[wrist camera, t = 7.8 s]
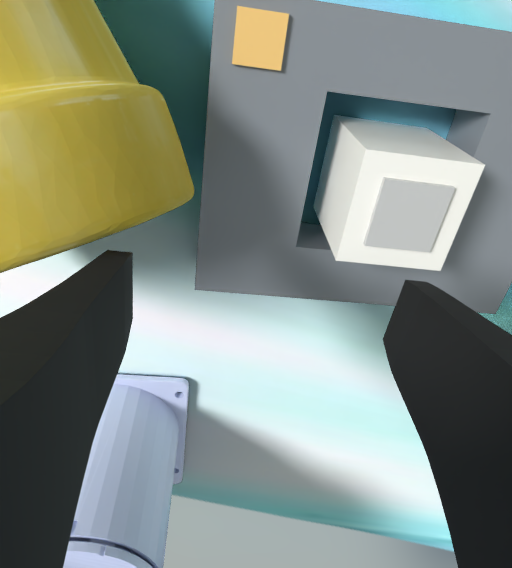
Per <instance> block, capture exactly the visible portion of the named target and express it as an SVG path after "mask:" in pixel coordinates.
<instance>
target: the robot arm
mask: <svg viewBox="0 0 512 568" xmlns="http://www.w3.org/2000/svg"><path fill="white" fill-rule="evenodd" d="M132 319H133V286H132V253H131V252H121V251H110V250H107V251H105V252H104V253H102V254H101V255H100V256H98V257H97V258H96V259H94V260H93V261H91V262H90V263H89V264H87V265H86V266H85V267H83V268H82V269H81V270H79V271H78V272H76V273H75V274H73V275H72V276H70V277H69V278H68V279H66V280H65V281H63V282H62V283H60V284H59V285H57V286H56V287H54V288H52V289H51V290H49V291H48V292H46V293H44V294H43V295H41V296H39V297H38V298H36V299H35V300H33V301H31V302H30V303H28V304H26V305H24V306H23V307H21V308H19V309H17V310H15V311H13V312H11V313H9V314H7V315H5V316H3V317H1V318H0V568H163V565H164V556H165V546H166V538H167V530H168V521H169V512H170V504H171V495H172V487H173V484H178V483H180V482H181V481H182V478H183V464H184V450H185V436H186V422H187V408H188V394H189V382H188V381H187V380H186V379H184V378H174V377H157V376H139V375H122V374H117V373H118V370H119V368H120V365H121V362H122V359H123V357H124V354H125V351H126V346H127V342H128V338H129V333H130V328H131V324H132ZM383 341H384V345H385V350H386V354H387V358H388V361H389V365H390V368H391V371H392V374H393V376H394V379H395V381H396V383H397V386H398V388H399V391H400V393H401V395H402V397H403V400H404V402H405V404H406V407H407V409H408V411H409V413H410V416H411V418H412V420H413V423H414V425H415V427H416V429H417V432H418V434H419V436H420V439H421V441H422V443H423V446H424V449H425V451H426V454H427V456H428V459H429V463H430V466H431V469H432V472H433V475H434V479H435V482H436V485H437V488H438V491H439V495H440V499H441V502H442V506H443V509H444V513H445V517H446V520H447V524H448V527H449V531H450V535H451V539H452V543H453V548H454V552H455V555H456V560H457V564H458V568H512V335H511V334H509V333H508V332H506V331H505V330H503V329H501V328H500V327H498V326H497V325H495V324H494V323H492V322H490V321H489V320H487V319H486V318H484V317H483V316H481V315H480V314H478V313H477V312H475V311H474V310H472V309H471V308H469V307H468V306H466V305H465V304H463V303H462V302H460V301H459V300H457V299H456V298H454V297H452V296H451V295H449V294H448V293H446V292H445V291H443V290H441V289H440V288H438V287H436V286H434V285H432V284H430V283H428V282H424V281H414V280H405V282H404V285H403V287H402V290H401V293H400V295H399V298H398V300H397V303H396V306H395V308H394V311H393V314H392V316H391V319H390V322H389V324H388V327H387V329H386V332H385V335H384V337H383ZM177 392H182V393H177Z"/></svg>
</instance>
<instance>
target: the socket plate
mask: <svg viewBox="0 0 512 568" xmlns="http://www.w3.org/2000/svg"><path fill="white" fill-rule="evenodd" d="M327 91H328V92H336V93H343V94H350V95H358V96H365V97H372V98H380V99H387V100H394V101H402V102H409V103H416V104H424V105H431V106H438V107H446V108H453V109H457V110H456V113H455V116H454V119H453V121H452V124H451V127H450V130H449V133H448V136H447V138H446V140H447V141H448V142H450V143H451V144H453V145H455V146H456V147H458V148H459V149H461V150H463V151H464V152H466V153H467V154H469V155H470V156H472V157H474V158H475V159H477V160H478V161H480V162H481V163H483V164H485V167H484V169H483V171H482V174H481V176H480V179H479V181H478V183H477V186H476V188H475V190H474V193H473V195H472V197H471V200H470V202H469V205H468V207H467V209H466V212H465V214H464V216H463V219H462V221H461V223H460V226H459V228H458V231H457V233H456V235H455V238H454V240H453V242H452V245H451V247H450V250H449V252H448V254H447V257H446V259H445V261H444V264H443V266H442V268H441V271H436V270H426V269H416V268H406V267H396V266H386V265H376V264H366V263H356V262H345V261H336V260H335V257H334V255H333V252H332V250H331V248H330V245H329V243H328V240H327V238H326V236H325V233H324V231H323V228H322V226H321V225H317V224H307V223H301V219H302V214H303V209H304V204H305V199H306V194H307V189H308V184H309V179H310V174H311V169H312V164H313V159H314V154H315V149H316V144H317V139H318V135H319V130H320V125H321V120H322V115H323V110H324V105H325V100H326V95H327ZM405 280H414V281H424V282H428V283H430V284H432V285H434V286H436V287H438V288H440V289H441V290H443V291H445V292H446V293H448V294H449V295H451V296H452V297H454V298H456V299H457V300H459V301H460V302H462V303H463V304H465V305H466V306H468V307H469V308H471V309H472V310H474V311H475V312H479V313H491V314H496V312H497V310H498V308H499V306H500V304H501V302H502V300H503V298H504V296H505V295H506V293H507V291H508V289H509V287H510V285H511V283H512V32H509V31H502V30H496V29H490V28H484V27H477V26H471V25H465V24H459V23H452V22H446V21H440V20H434V19H427V18H421V17H415V16H409V15H402V14H396V13H390V12H384V11H377V10H371V9H365V8H359V7H352V6H346V5H340V4H334V3H327V2H321V1H315V0H215V3H214V18H213V32H212V46H211V61H210V75H209V90H208V104H207V119H206V133H205V148H204V162H203V177H202V191H201V205H200V220H199V234H198V249H197V263H196V278H195V290H205V291H218V292H230V293H242V294H255V295H267V296H280V297H292V298H305V299H317V300H329V301H342V302H354V303H367V304H379V305H392V306H396V303H397V300H398V298H399V295H400V293H401V290H402V287H403V285H404V282H405Z"/></svg>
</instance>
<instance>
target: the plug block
mask: <svg viewBox="0 0 512 568" xmlns="http://www.w3.org/2000/svg"><path fill="white" fill-rule="evenodd" d="M484 167H485V164H483V163H481V162H480V161H478V160H477V159H475V158H474V157H472V156H470V155H469V154H467V153H466V152H464V151H463V150H461V149H459V148H458V147H456V146H455V145H453V144H451V143H450V142H448V141H447V140H445V139H444V138H442V137H440V136H439V135H437V134H436V133H434V132H433V131H431V130H429V129H428V128H424V127H417V126H410V125H403V124H396V123H389V122H382V121H375V120H367V119H360V118H353V117H346V116H339V115H334V117H333V121H332V126H331V130H330V135H329V139H328V144H327V148H326V152H325V157H324V161H323V166H322V170H321V175H320V179H319V184H318V188H317V193H316V197H315V202H314V206H313V207H314V209H315V212H316V214H317V216H318V219H319V221H320V224H321V226H322V228H323V231H324V233H325V236H326V238H327V240H328V243H329V245H330V248H331V250H332V252H333V255H334V257H335V260H336V261H345V262H356V263H366V264H376V265H386V266H396V267H406V268H416V269H426V270H436V271H441V268H442V266H443V264H444V261H445V259H446V257H447V254H448V252H449V250H450V247H451V245H452V242H453V240H454V238H455V235H456V233H457V231H458V228H459V226H460V223H461V221H462V219H463V216H464V214H465V212H466V209H467V207H468V205H469V202H470V200H471V197H472V195H473V193H474V190H475V188H476V186H477V183H478V181H479V179H480V176H481V174H482V171H483V169H484Z"/></svg>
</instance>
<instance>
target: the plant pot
mask: <svg viewBox="0 0 512 568" xmlns="http://www.w3.org/2000/svg"><path fill="white" fill-rule="evenodd" d="M193 196H194V186H193V182H192V179H191V175H190V172H189V169H188V165H187V162H186V159H185V156H184V152H183V149H182V146H181V143H180V140H179V137H178V134H177V131H176V128H175V125H174V122H173V120H172V117H171V114H170V112H169V109H168V107H167V104H166V101H165V99H164V97H163V95H162V94H161V93H160V92H159V91H158V90H157V89H155V88H153V87H150V86H147V85H142V84H139V83H138V81H137V79H136V77H135V75H134V74H133V72H132V70H131V68H130V66H129V64H128V63H127V61H126V59H125V57H124V55H123V53H122V51H121V50H120V48H119V46H118V44H117V42H116V40H115V39H114V37H113V35H112V33H111V31H110V29H109V27H108V26H107V24H106V22H105V20H104V18H103V16H102V15H101V13H100V11H99V9H98V7H97V5H96V4H95V2H94V0H0V273H1V272H4V271H7V270H10V269H13V268H16V267H19V266H22V265H25V264H28V263H31V262H35V261H38V260H41V259H44V258H47V257H50V256H53V255H56V254H59V253H62V252H64V251H67V250H70V249H73V248H76V247H79V246H82V245H85V244H87V243H90V242H93V241H96V240H98V239H101V238H104V237H106V236H109V235H111V234H114V233H117V232H120V231H122V230H125V229H128V228H131V227H134V226H136V225H139V224H141V223H144V222H146V221H148V220H151V219H153V218H155V217H157V216H160V215H162V214H164V213H167V212H169V211H171V210H173V209H175V208H177V207H179V206H181V205H183V204H185V203H186V202H188V201H189V200H191V199H192V197H193Z"/></svg>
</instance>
